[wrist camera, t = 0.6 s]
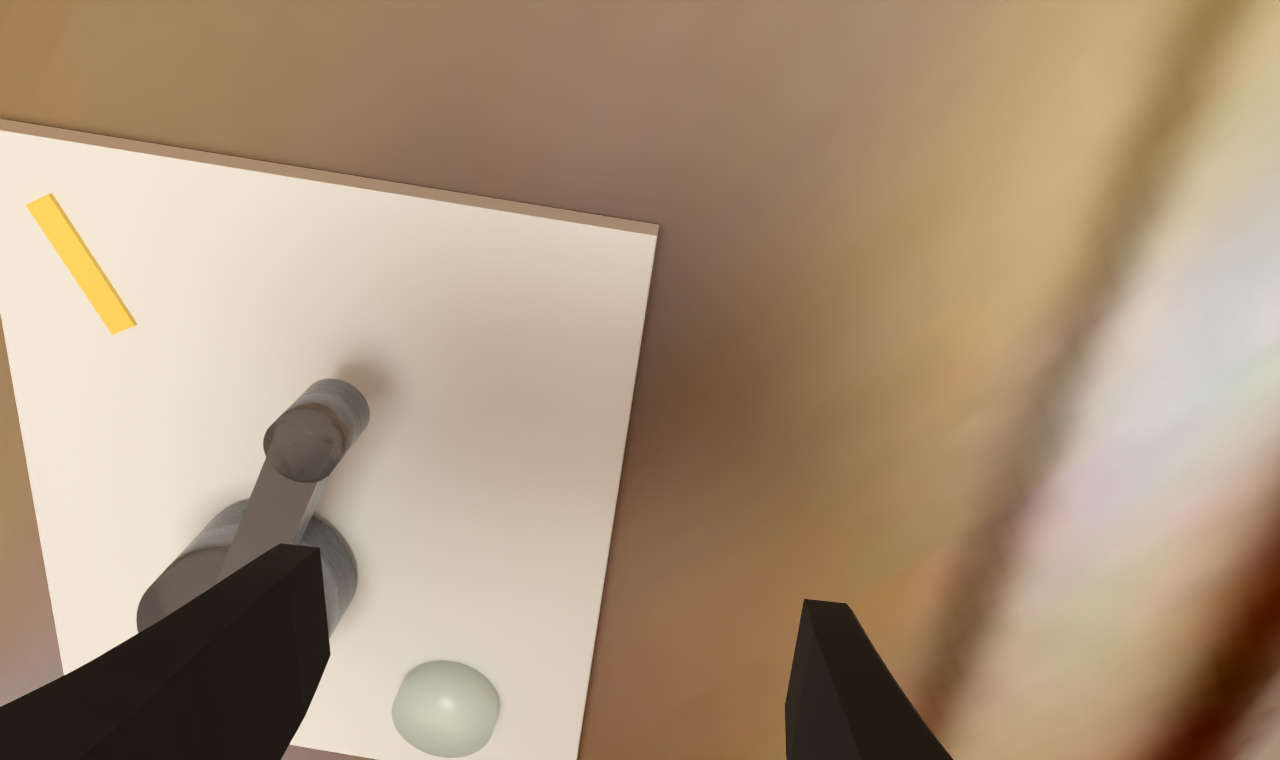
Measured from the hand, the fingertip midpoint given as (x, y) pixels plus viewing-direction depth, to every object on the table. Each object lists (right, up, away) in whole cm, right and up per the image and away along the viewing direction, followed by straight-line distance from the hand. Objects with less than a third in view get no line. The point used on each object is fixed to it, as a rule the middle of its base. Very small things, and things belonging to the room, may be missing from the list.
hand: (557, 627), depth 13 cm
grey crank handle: (-8, 0, +11) cm, 13 cm away
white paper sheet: (-7, +1, +12) cm, 14 cm away
